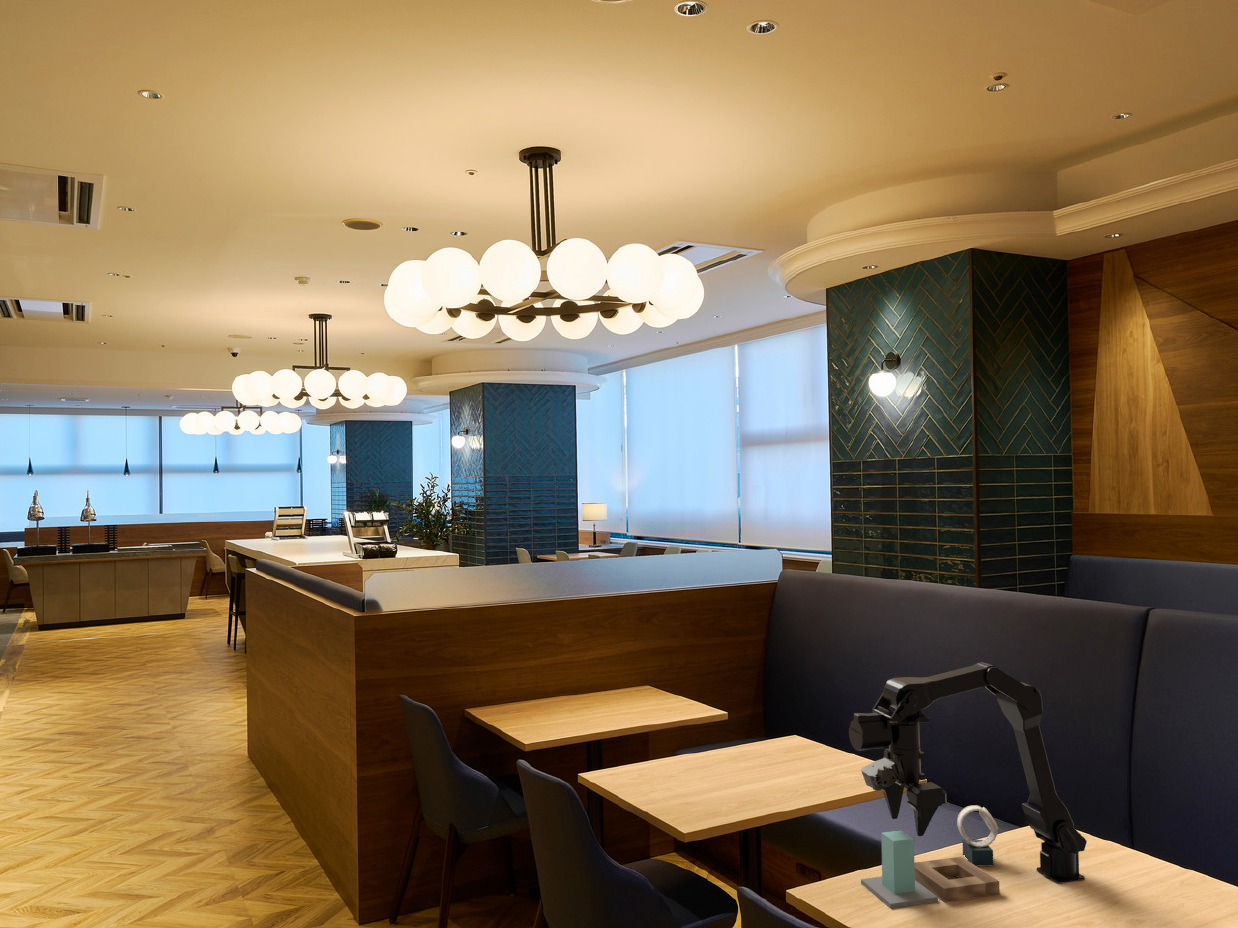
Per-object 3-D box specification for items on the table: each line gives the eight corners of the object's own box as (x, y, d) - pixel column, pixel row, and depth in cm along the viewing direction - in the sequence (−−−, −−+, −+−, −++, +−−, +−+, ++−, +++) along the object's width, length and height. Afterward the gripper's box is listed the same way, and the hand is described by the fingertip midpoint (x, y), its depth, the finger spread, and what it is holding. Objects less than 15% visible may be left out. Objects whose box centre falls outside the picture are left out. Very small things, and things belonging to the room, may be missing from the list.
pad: (906, 877, 184) (906, 873, 184) (938, 901, 173) (937, 896, 173) (860, 883, 181) (860, 879, 181) (890, 907, 171) (890, 903, 171)
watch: (1003, 865, 189) (1001, 811, 189) (963, 865, 189) (962, 811, 189) (992, 854, 194) (991, 802, 195) (954, 854, 195) (953, 802, 195)
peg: (902, 881, 180) (901, 830, 180) (915, 891, 176) (914, 838, 176) (882, 884, 179) (881, 832, 179) (894, 893, 175) (893, 840, 175)
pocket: (961, 868, 187) (961, 856, 187) (999, 894, 176) (999, 880, 176) (909, 875, 184) (909, 863, 185) (944, 901, 173) (944, 888, 173)
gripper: (843, 736, 185) (845, 814, 184) (892, 763, 166) (895, 850, 166) (893, 731, 187) (895, 808, 187) (946, 757, 169) (949, 843, 169)
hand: (907, 826), depth 177 cm, fingers open, 9 cm apart
